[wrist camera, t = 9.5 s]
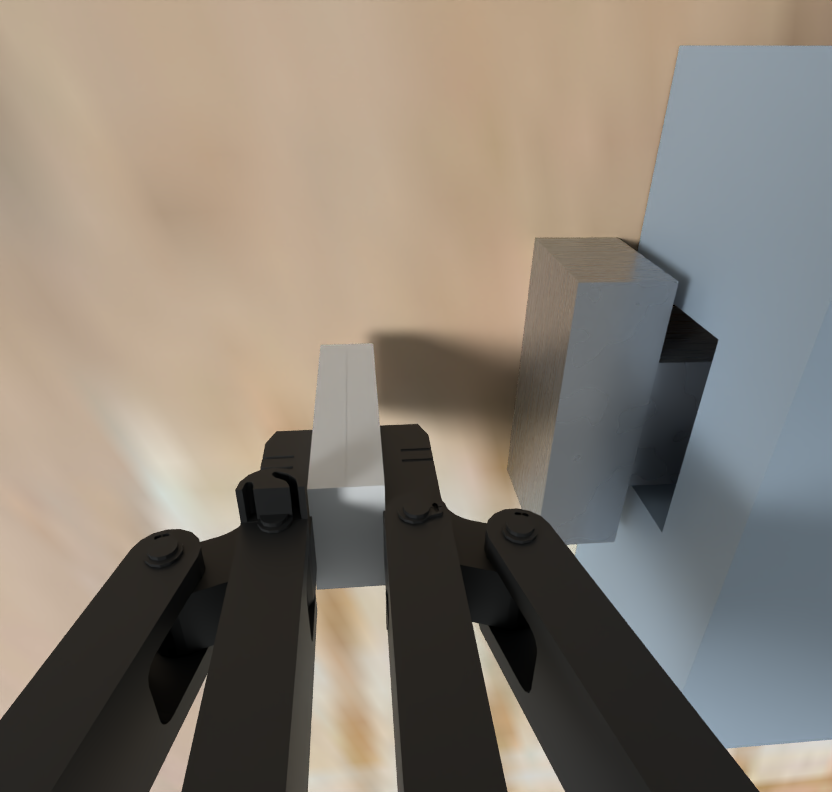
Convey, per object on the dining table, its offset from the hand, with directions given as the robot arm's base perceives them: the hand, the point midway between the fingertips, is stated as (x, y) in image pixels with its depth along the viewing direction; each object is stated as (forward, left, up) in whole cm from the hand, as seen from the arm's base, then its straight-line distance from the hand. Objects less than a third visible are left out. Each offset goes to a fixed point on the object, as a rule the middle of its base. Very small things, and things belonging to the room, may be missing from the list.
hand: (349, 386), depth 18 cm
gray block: (0, +12, -2) cm, 12 cm away
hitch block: (0, +12, -2) cm, 12 cm away
